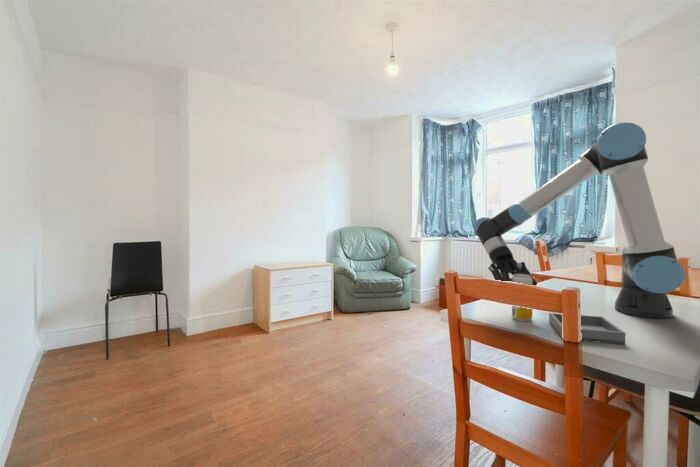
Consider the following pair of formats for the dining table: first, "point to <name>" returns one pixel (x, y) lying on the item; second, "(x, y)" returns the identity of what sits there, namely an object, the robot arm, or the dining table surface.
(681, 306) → the dining table surface
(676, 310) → the dining table surface
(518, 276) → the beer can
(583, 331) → the tray
